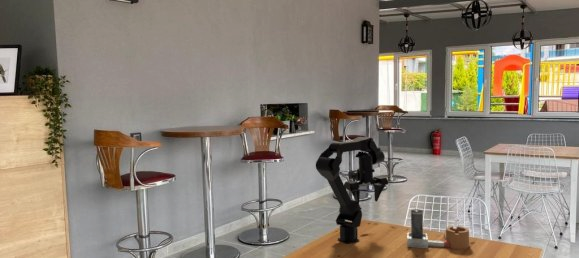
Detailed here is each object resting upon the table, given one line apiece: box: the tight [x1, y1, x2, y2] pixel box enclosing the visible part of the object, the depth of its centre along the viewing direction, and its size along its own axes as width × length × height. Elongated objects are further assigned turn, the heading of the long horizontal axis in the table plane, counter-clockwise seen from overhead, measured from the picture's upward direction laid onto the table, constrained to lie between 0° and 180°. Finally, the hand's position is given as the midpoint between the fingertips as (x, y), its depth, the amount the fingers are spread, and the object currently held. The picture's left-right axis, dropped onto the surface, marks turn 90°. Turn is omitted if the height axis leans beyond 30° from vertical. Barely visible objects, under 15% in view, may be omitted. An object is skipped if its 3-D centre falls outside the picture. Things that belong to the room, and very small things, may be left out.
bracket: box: [443, 225, 470, 250], centre depth 180 cm, size 18×8×7 cm, turn 165°
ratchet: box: [406, 232, 452, 249], centre depth 176 cm, size 8×18×3 cm, turn 76°
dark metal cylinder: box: [410, 208, 424, 239], centre depth 177 cm, size 4×4×11 cm
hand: (367, 203), depth 192 cm, fingers open, 9 cm apart
